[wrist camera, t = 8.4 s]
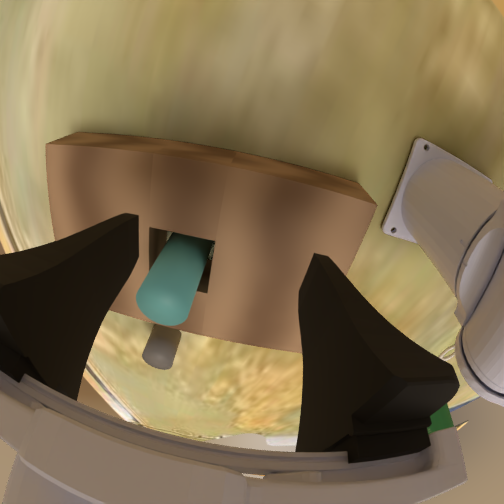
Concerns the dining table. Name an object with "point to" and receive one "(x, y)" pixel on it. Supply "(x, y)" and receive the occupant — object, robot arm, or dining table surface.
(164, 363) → the charcoal stub
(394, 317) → the dining table surface
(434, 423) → the beverage can
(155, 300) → the teal pin
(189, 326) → the walnut hole block
